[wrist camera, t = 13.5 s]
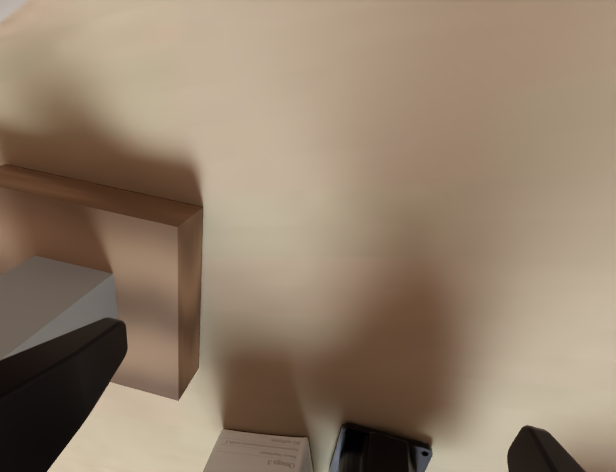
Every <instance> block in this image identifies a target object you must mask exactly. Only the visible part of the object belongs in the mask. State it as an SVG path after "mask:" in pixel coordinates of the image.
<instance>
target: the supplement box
mask: <svg viewBox="0 0 616 472" xmlns="http://www.w3.org/2000/svg"><path fill="white" fill-rule="evenodd" d="M203 472H313V468H312V461H311V454H310V448H309V441H308V438H307V437H304V438H301V437H285V436H274V435H265V434H256V433H247V432H239V431H232V430H227V429H226V430H224V429H223V430H222V431H221V433H220V435H219V437H218V439H217V442H216V444H215V446H214V448H213V451H212V453H211V455H210V457H209V460H208V462H207V464H206V466H205V468H204V471H203Z"/></svg>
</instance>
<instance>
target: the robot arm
mask: <svg viewBox="0 0 616 472" xmlns="http://www.w3.org/2000/svg"><path fill="white" fill-rule="evenodd" d="M127 350H128V343H127V331H126V324H125V322H124V321H122V320H118V319H115V318H111V317H106V318H103V319H100V320H98V321H95V322H93V323H90V324H88V325H86V326H83V327H81V328H78V329H76V330H73V331H71V332H68V333H66V334H63V335H61V336H58V337H56V338H53V339H51V340H49V341H46V342H44V343H41V344H39V345H36V346H34V347H31V348H29V349H26V350H24V351H21V352H19V353H16V354H14V355H12V356H9V357H7V358H4V359H2V360H0V472H47V471H48V469H49V468H50V467H51V465H52V464H53V463H54V461H55V460H56V459H57V457H58V456H59V455H60V453H61V452H62V451H63V449H64V448H65V447H66V446H67V444H68V443H69V442H70V440H71V439H72V438H73V436H74V435H75V434H76V432H77V431H78V430H79V428H80V427H81V426H82V424H83V423H84V421H85V420H86V419H87V417H88V416H89V414H90V413H91V411H92V410H93V408H94V407H95V405H96V403H97V402H98V400H99V398H100V397H101V395H102V394H103V392H104V390H105V389H106V387H107V386H108V384H109V382H110V381H111V379H112V377H113V376H114V374H115V373H116V371H117V369H118V368H119V366H120V365H121V363H122V361H123V360H124V358H125V356H126V354H127ZM431 457H432V448H431V446H429V445H428V444H424V443H421V442H417V441H413V440H410V439H406V438H402V437H399V436H395V435H391V434H387V433H384V432H380V431H376V430H373V429H369V428H365V427H361V426H358V425H354V424H350V423H345V424H343V425H342V428H341V431H340V435H339V438H338V442H337V445H336V449H335V452H334V456H333V459H332V462H331V466H330V469H329V472H425V470H426V468H427V466H428V463H429V461H430V459H431ZM507 462H508V469H509V472H586V471H585V470H584V469H583V468H582V467H581V466H580V465H579V464H578V463H577V462H576V461H575V460H574V458H573V457H572V456H571V455H570V454H569V453H568V452H567V451H566V450H565V449H564V448H563V447H562V446H561V445H560V444H559V442H558V441H557V440H556V439H555V438H554V437H553V436H552V435H551V434H550V433H549V432H548V431H546V430H544V429H540V428H536V427H532V426H529V425H526V426H524V427H522V428H521V430H520V432H519V433H518V435H517V436H516V438H515V440H514V441H513V443H512V445H511V446H510V448H509V450H508V455H507Z"/></svg>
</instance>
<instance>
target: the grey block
mask: <svg viewBox="0 0 616 472" xmlns="http://www.w3.org/2000/svg"><path fill="white" fill-rule="evenodd" d="M106 317H111V318H115V319H118V312H117V303H116V294H115V285H114V276H113V274H112V273H108V272H104V271H99V270H95V269H91V268H87V267H82V266H78V265H74V264H69V263H65V262H61V261H56V260H52V259H48V258H44V257H39V256H34V257H32V258H30V259H28V260H26V261H24V262H23V263H21V264H19V265H17V266H15V267H13V268H12V269H10V270H8V271H6V272H4V273H2V274H1V275H0V360H2V359H4V358H7V357H9V356H12V355H14V354H16V353H19V352H21V351H24V350H26V349H29V348H31V347H34V346H36V345H39V344H41V343H44V342H46V341H49V340H51V339H53V338H56V337H58V336H61V335H63V334H66V333H68V332H71V331H73V330H76V329H78V328H81V327H83V326H86V325H88V324H90V323H93V322H95V321H98V320H100V319H103V318H106Z"/></svg>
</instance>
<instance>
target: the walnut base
mask: <svg viewBox="0 0 616 472" xmlns="http://www.w3.org/2000/svg"><path fill="white" fill-rule="evenodd" d="M202 227H203V207H199V206H195V205H190V204H185V203H181V202H176V201H172V200H167V199H163V198H158V197H153V196H149V195H144V194H140V193H135V192H131V191H126V190H121V189H117V188H112V187H108V186H103V185H99V184H94V183H90V182H85V181H80V180H76V179H71V178H67V177H62V176H58V175H53V174H48V173H44V172H39V171H35V170H30V169H26V168H21V167H16V166H12V165H3V166H0V275H1V274H2V273H4V272H6V271H8V270H10V269H12V268H13V267H15V266H17V265H19V264H21V263H23V262H24V261H26V260H28V259H30V258H32V257H34V256H39V257H44V258H48V259H52V260H56V261H61V262H65V263H69V264H74V265H78V266H82V267H87V268H91V269H95V270H99V271H104V272H108V273H112V274H113V276H114V285H115V294H116V303H117V312H118V320H122V321H124V322H125V324H126V331H127V343H128V350H127V354H126V356H125V358H124V360H123V361H122V363H121V365H120V366H119V368H118V369H117V371H116V373H115V374H114V376H113V377H112V379H111V381H110V382H113V383H116V384H120V385H124V386H127V387H131V388H134V389H138V390H142V391H145V392H149V393H152V394H156V395H160V396H163V397H167V398H170V399H174V400H178V401H179V399H180V398H181V396H182V394H183V393H184V391H185V389H186V388H187V386H188V384H189V383H190V381H191V380H192V378H193V376H194V375H195V373H196V371H197V370H198V368H199V334H200V299H201V263H202Z"/></svg>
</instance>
